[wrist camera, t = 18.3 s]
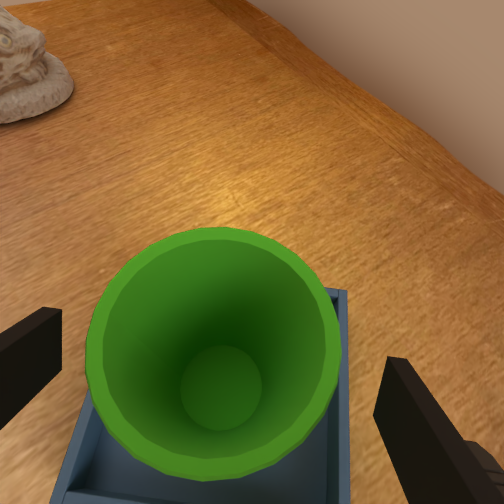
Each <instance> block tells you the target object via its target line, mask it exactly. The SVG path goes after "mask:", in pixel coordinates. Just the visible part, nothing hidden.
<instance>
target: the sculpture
mask: <svg viewBox="0 0 504 504" xmlns="http://www.w3.org/2000/svg"><path fill="white" fill-rule="evenodd" d="M45 43H46V39H45V36H44V34H43V33H42V32H41V31H39V30H37V29H35V28H33V27H31V26H28V25H24V24H23V23H22V22H21V21H20V20H18V19H17V18H15V17H14V16H12V15H11V14H10V13H9V12H8V11H6V10H5V9H4V8H3V7H2V6H1V5H0V123H10V122H13V121H18V120H20V119H25V118H30V117H34V116H36V115H40V114H42V113H44V112H47V111H49V110H50V109H53V108H55V107H57V106H58V105H59V104H61V103H63V102H64V101H65V100H66V99H68V98H69V97H70V95H71V93H72V91H73V88H74V84H73V83H74V82H73V80H72V78H71V76H70V75H69V72H68V70H67V69H66V68H65V66H64V65H63V63H62V62H61V61H60V60H59V59H58V58H57V57H55V56H53V55H52V54H50V53H48V52H46V51H45V48H44V45H45Z"/></svg>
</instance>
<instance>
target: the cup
mask: <svg viewBox="0 0 504 504" xmlns="http://www.w3.org/2000/svg"><path fill="white" fill-rule="evenodd" d="M341 357H342V348H341V337H340V326H339V322H338V319H337V316H336V313H335V310H334V307H333V304H332V301H331V298H330V296H329V295H328V293H327V291H326V290H325V288H324V287H323V285H322V283H321V282H320V280H319V279H318V277H317V275H316V274H315V273H314V272H313V271H312V270H311V269H310V268H309V266H308V265H307V264H306V263H305V262H304V261H303V260H302V259H301V258H300V257H299V256H298V255H297V254H295V253H294V252H292V251H291V250H289V249H287V248H286V247H284V246H283V245H281V244H280V243H278V242H277V241H275V240H273V239H270V238H268V237H265V236H262V235H260V234H257V233H255V232H252V231H247V230H241V229H235V228H229V227H212V228H198V229H194V230H189V231H185V232H181V233H177V234H174V235H171V236H169V237H167V238H165V239H163V240H160V241H158V242H156V243H154V244H152V245H150V246H149V247H147V248H146V249H144V250H143V251H142V252H140V253H139V254H138V255H136V256H135V257H134V258H132V259H131V260H129V261H128V262H127V263H126V265H125V266H124V267H123V268H122V269H121V270H120V271H119V272H118V273H117V275H116V276H115V277H114V278H113V279H112V280H111V281H110V282H109V284H108V286H107V288H106V290H105V291H104V293H103V295H102V297H101V299H100V300H99V302H98V304H97V306H96V308H95V309H94V313H93V316H92V320H91V323H90V327H89V330H88V334H87V337H86V349H85V374H86V379H87V383H88V387H89V391H90V396H91V400H92V404H93V406H94V407H95V409H96V411H97V413H98V415H99V416H100V418H101V420H102V422H103V423H104V425H105V427H106V429H107V431H108V432H109V434H110V435H111V436H112V437H113V438H114V439H115V440H116V441H117V442H118V443H119V444H120V445H121V446H122V447H124V448H125V449H126V450H127V451H128V452H129V453H130V454H131V455H132V456H133V457H134V458H135V459H137V460H139V461H141V462H143V463H145V464H147V465H149V466H151V467H153V468H154V469H156V470H158V471H160V472H162V473H164V474H166V475H171V476H176V477H181V478H186V479H192V480H197V481H202V482H204V481H214V480H224V479H235V478H241V477H243V476H246V475H249V474H251V473H254V472H256V471H259V470H261V469H264V468H266V467H269V466H271V465H274V464H275V463H277V462H278V461H279V460H281V459H282V458H283V457H285V456H286V455H287V454H289V453H290V452H291V451H293V450H294V449H295V448H296V447H298V446H299V445H300V444H302V443H303V442H304V441H305V439H306V438H307V437H308V435H309V434H310V433H311V432H312V430H313V429H314V428H315V426H316V425H317V424H318V423H319V421H320V420H321V419H322V417H323V416H324V415H325V412H326V410H327V408H328V405H329V403H330V401H331V398H332V396H333V394H334V391H335V389H336V387H337V383H338V377H339V370H340V364H341Z"/></svg>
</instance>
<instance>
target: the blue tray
mask: <svg viewBox="0 0 504 504" xmlns="http://www.w3.org/2000/svg"><path fill="white" fill-rule="evenodd" d="M324 288H325V290H326V291H327V293H328V295H329V296H330V298H331V301H332V304H333V307H334V310H335V313H336V316H337V319H338V322H339V326H340V337H341V348H342V357H341V364H340V370H339V377H338V383H337V387H336V389H335V391H334V394H333V396H332V398H331V401H330V403H329V405H328V408H327V410H326V412H325V415H324V416H323V417H322V419H321V420H320V421H319V423H318V424H317V425H316V426H315V428H314V429H313V430H312V432H311V433H310V434H309V435H308V437H307V438H306V439H305V441H304V442H303V443H302V444H300V445H299V446H298V447H296V448H295V449H294V450H293V451H291V452H290V453H289V454H287V455H286V456H285V457H283V458H282V459H281V460H279V461H278V462H277V463H275V464H274V465H271V466H269V467H266V468H264V469H261V470H259V471H256V472H254V473H251V474H249V475H246V476H243V477H241V478H235V479H224V480H214V481H204V482H202V481H197V480H192V479H186V478H181V477H176V476H171V475H166V474H164V473H162V472H160V471H158V470H156V469H154V468H153V467H151V466H149V465H147V464H145V463H143V462H141V461H139V460H137V459H135V458H134V457H133V456H132V455H131V454H130V453H129V452H128V451H127V450H126V449H125V448H124V447H122V446H121V445H120V444H119V443H118V442H117V441H116V440H115V439H114V438H113V437H112V436H111V435H110V434H109V432H108V431H107V429H106V427H105V425H104V423H103V422H102V420H101V418H100V416H99V415H98V413H97V411H96V409H95V407H94V406H93V404H92V400H91V396H90V391H89V389H88V391H87V394H86V397H85V400H84V403H83V406H82V409H81V412H80V415H79V418H78V420H77V423H76V426H75V429H74V432H73V435H72V438H71V441H70V444H69V447H68V450H67V452H66V455H65V458H64V461H63V464H62V467H61V470H60V473H59V476H58V479H57V481H56V484H55V487H54V490H53V493H52V496H51V499H50V502H49V504H351V503H350V437H349V372H348V306H347V290H341V289H334V288H326V287H324Z"/></svg>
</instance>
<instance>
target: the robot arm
mask: <svg viewBox="0 0 504 504" xmlns="http://www.w3.org/2000/svg"><path fill="white" fill-rule="evenodd" d="M61 370H62V309H56V308H49V307H42V308H40V309H39V310H37V311H35V312H34V313H32V314H31V315H29V316H27V317H26V318H24V319H23V320H21V321H19V322H18V323H16V324H15V325H13V326H11V327H10V328H8V329H7V330H5V331H3V332H2V333H0V430H1V429H2V428H3V427H4V426H5V425H6V424H7V423H8V422H9V421H10V420H11V419H12V418H13V417H14V416H15V415H16V414H17V413H18V412H19V411H20V410H21V409H23V408H24V407H25V406H26V405H27V404H28V403H29V402H30V401H31V400H32V399H33V398H34V397H35V396H36V395H37V394H38V393H39V392H40V391H41V390H42V389H43V388H44V387H45V386H46V385H47V384H48V383H49V382H50V381H51V380H52V379H53V378H54V377H55V376H56V375H57V374H58V373H59V372H60V371H61ZM373 417H374V420H375V422H376V425H377V427H378V429H379V432H380V434H381V437H382V439H383V442H384V444H385V447H386V449H387V452H388V454H389V456H390V459H391V461H392V464H393V466H394V469H395V471H396V474H397V476H398V479H399V481H400V483H401V486H402V488H403V491H404V493H405V496H406V498H407V501H408V503H409V504H504V471H503V469H502V468H501V467H500V465H499V464H498V463H497V461H496V460H495V459H494V457H493V456H492V455H491V454H489V453H488V452H487V451H486V450H485V449H484V448H482V447H481V446H480V445H479V444H478V443H476V442H473V441H466V440H463V438H462V437H461V435H460V434H459V432H458V431H457V430H456V428H455V427H454V425H453V424H452V422H451V421H450V420H449V418H448V417H447V415H446V414H445V413H444V411H443V410H442V408H441V407H440V405H439V404H438V403H437V401H436V400H435V398H434V397H433V395H432V394H431V393H430V391H429V390H428V388H427V387H426V385H425V384H424V383H423V381H422V380H421V378H420V377H419V375H418V374H417V373H416V371H415V370H414V368H413V367H412V365H411V364H410V363H409V361H408V360H407V359H404V358H397V357H390V356H387V360H386V364H385V368H384V372H383V377H382V381H381V385H380V389H379V393H378V397H377V401H376V405H375V409H374V413H373Z"/></svg>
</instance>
